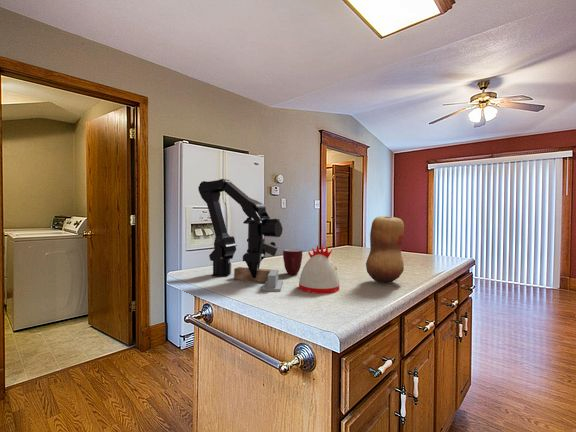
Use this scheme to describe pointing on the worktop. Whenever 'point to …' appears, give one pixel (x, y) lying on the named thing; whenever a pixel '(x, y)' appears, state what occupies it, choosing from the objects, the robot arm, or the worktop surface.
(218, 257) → the robot arm
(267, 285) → the ridge block
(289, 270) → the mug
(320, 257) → the kitchen timer
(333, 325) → the worktop surface
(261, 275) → the walnut bar
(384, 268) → the butternut squash
